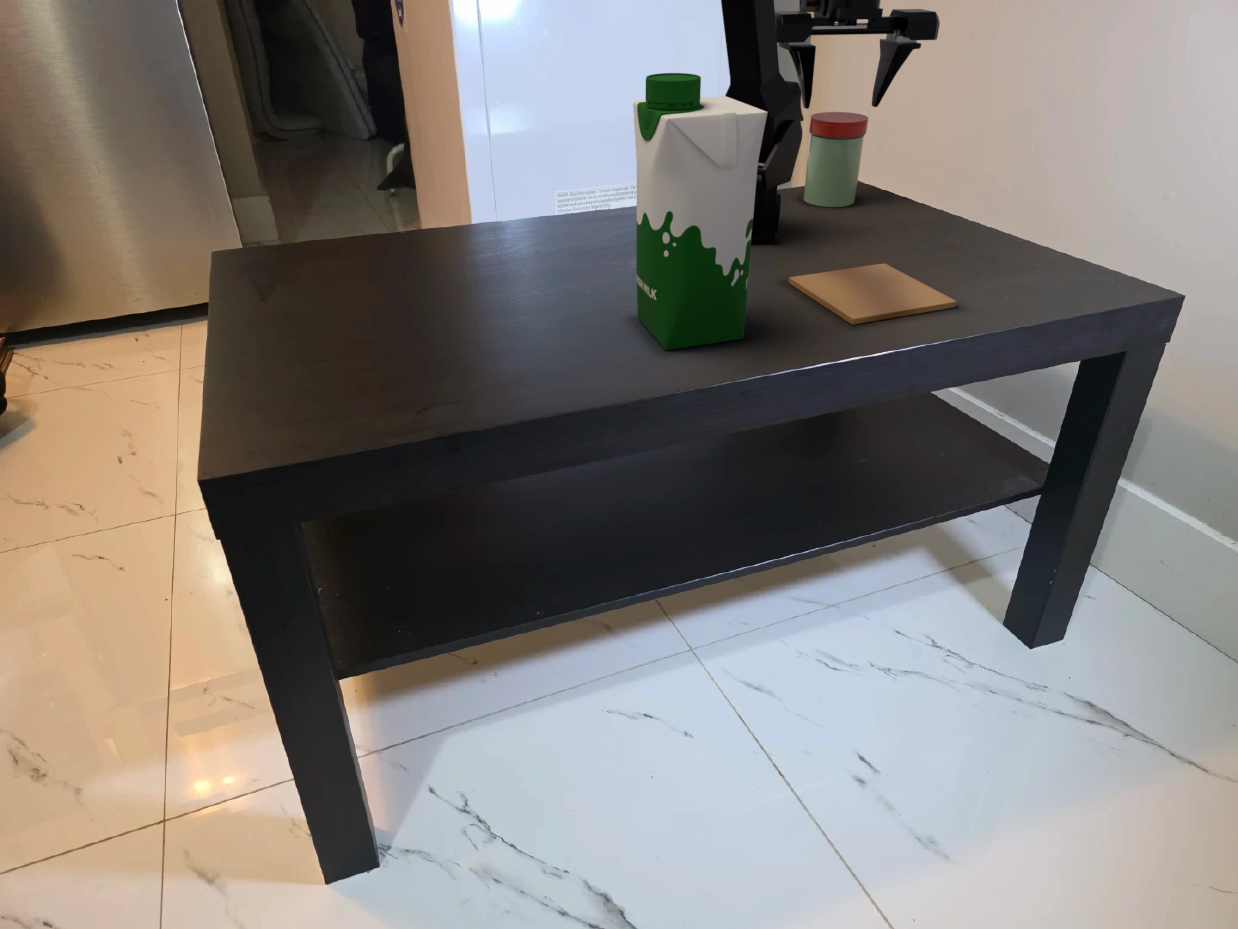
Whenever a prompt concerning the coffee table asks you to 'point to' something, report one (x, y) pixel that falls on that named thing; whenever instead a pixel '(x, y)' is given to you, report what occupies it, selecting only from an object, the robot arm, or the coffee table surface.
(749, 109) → the milk carton
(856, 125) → the lid
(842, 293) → the coaster
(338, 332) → the coffee table surface
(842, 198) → the jar
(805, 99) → the robot arm
